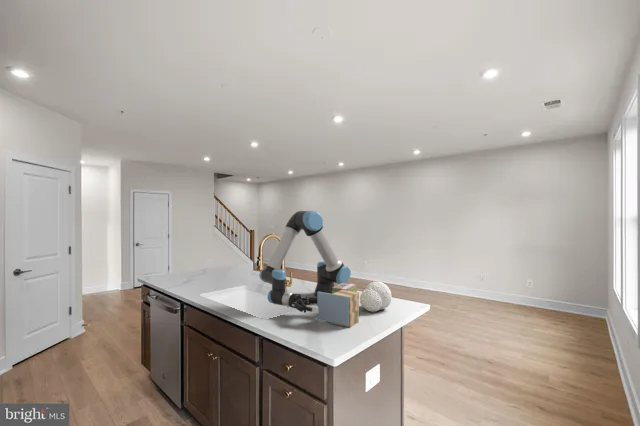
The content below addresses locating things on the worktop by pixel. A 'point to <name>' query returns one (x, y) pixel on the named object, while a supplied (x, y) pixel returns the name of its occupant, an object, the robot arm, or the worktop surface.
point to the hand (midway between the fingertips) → (325, 306)
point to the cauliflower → (376, 297)
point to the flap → (333, 308)
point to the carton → (351, 306)
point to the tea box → (344, 287)
